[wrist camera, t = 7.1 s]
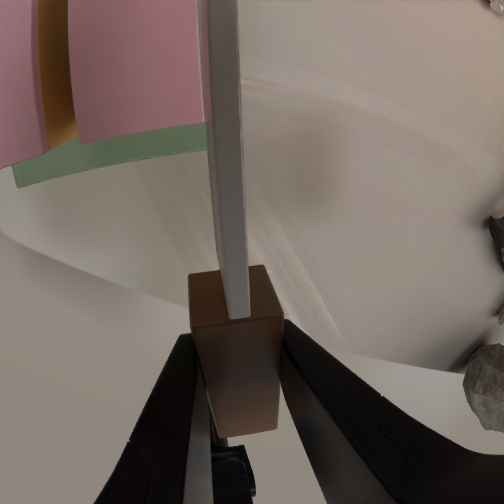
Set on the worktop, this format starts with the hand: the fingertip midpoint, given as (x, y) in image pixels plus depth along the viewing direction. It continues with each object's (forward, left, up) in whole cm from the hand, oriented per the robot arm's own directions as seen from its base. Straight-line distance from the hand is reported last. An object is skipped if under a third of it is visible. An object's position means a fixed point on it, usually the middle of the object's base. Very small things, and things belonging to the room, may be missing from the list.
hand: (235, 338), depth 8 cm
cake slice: (+8, +7, -6) cm, 12 cm away
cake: (+8, +2, -6) cm, 11 cm away
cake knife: (+2, 0, -1) cm, 2 cm away
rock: (-32, -35, -1) cm, 47 cm away
